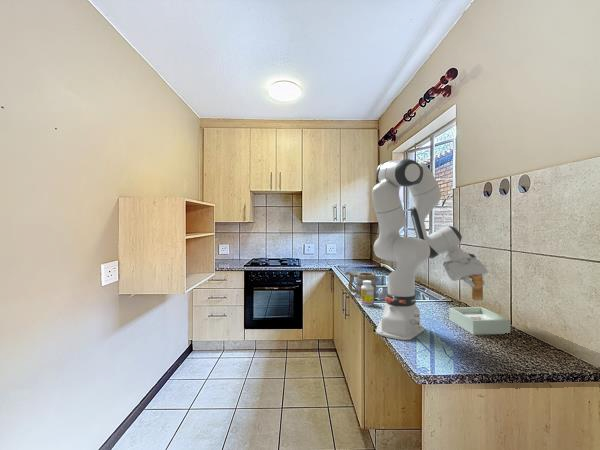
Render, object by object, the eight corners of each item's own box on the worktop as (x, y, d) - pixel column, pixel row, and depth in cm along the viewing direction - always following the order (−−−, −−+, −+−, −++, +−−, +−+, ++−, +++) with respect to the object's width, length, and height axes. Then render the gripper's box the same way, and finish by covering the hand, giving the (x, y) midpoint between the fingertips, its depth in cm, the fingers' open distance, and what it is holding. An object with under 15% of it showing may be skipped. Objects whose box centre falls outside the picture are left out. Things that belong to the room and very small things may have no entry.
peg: (482, 300, 123) (482, 277, 123) (471, 299, 125) (471, 276, 125) (483, 298, 126) (482, 275, 126) (472, 297, 128) (472, 274, 128)
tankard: (380, 295, 180) (379, 271, 179) (373, 300, 169) (372, 274, 169) (349, 292, 191) (349, 269, 190) (341, 296, 180) (341, 272, 180)
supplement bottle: (359, 302, 165) (359, 280, 165) (371, 302, 165) (370, 279, 165) (363, 306, 158) (363, 282, 158) (375, 305, 159) (374, 282, 159)
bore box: (510, 333, 117) (510, 319, 117) (473, 334, 116) (473, 320, 116) (481, 318, 135) (481, 306, 135) (449, 319, 134) (449, 307, 134)
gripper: (445, 257, 128) (466, 284, 119) (477, 254, 136) (499, 279, 127) (437, 266, 132) (456, 292, 123) (468, 262, 140) (489, 287, 131)
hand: (478, 285), depth 125 cm, fingers closed on peg, 4 cm apart
